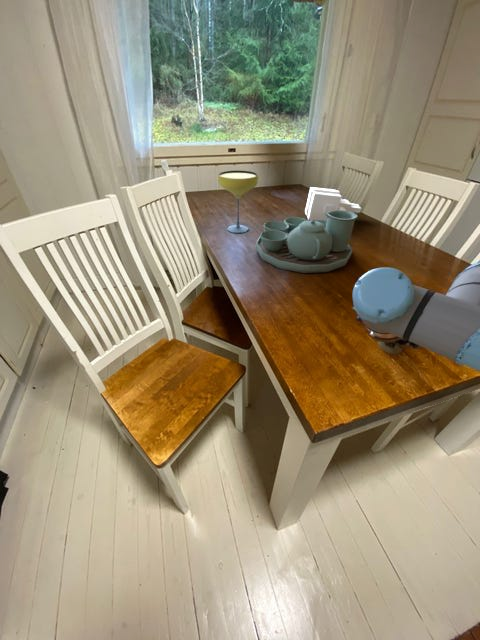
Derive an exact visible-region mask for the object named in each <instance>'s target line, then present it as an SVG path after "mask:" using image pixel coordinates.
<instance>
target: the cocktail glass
mask: <svg viewBox="0 0 480 640" xmlns="http://www.w3.org/2000/svg"><path fill="white" fill-rule="evenodd" d="M217 179H218V184H219V186H220V187H221V188H223V189H224V190H226V191H227V192H230V193H231V194H233V196H234V197H235V198H236V199H237V207H236V208H237V209H236V211H237V212H236V213H237V216H236V224H234V225H229V226H228V227H227V231H228V232H230V233H233V234H244V233H247V232H248V231H249V229H250V228H249V227H248V226H246V225H242V224H240V198H242V196H243V195H244V194H245V193H247V192H249V191H251V190H253V189H254V188H256V186H258V183H259V175H258V173H257V172H254V171H251V170H250V171H249V170H248V171H247V170H226V171H222V172H219V174H218V177H217Z"/></svg>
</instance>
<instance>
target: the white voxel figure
mask: <svg viewBox="0 0 480 640" xmlns="http://www.w3.org/2000/svg"><path fill="white" fill-rule="evenodd" d="M340 192H341V191H340V190H336V189H335V188H334V189H333V188H324V187H315V186H310V187H309V191H308V196H307V201H306V205H305V208H304V214H305V216H306V219H307V220H308V221H311V220H325V221H327V216H326V215H325V213H326V212H329V211H332V210H345V211H350V212H353V213H356V214H357V213H359V214H360V213H361V211H362V207H361V206H360V205H359V204H358V203H351V202H350V201H349V200H348V199H346V198H345V199H344V198H342V194H340Z"/></svg>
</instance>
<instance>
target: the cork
mask: <svg viewBox="0 0 480 640" xmlns="http://www.w3.org/2000/svg"><path fill="white" fill-rule="evenodd" d="M377 345H378V347H379V348H380V349H381V350H383V352H385V353H388V354H390V355H398V354H401V353H402V352H403V349H402V348H399V346H398V345H399V344H398V345H397V346H396V345H395V346H394V348H392V347H391V348H390V347H388V346H386V345H385V343H384V342H380V341H378V340H377Z"/></svg>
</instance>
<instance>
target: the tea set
mask: <svg viewBox="0 0 480 640" xmlns="http://www.w3.org/2000/svg"><path fill="white" fill-rule="evenodd" d="M325 215H326V216H327V221H325V220H308V218H304V217H299V216H298V217H297V216H292V217H286V218H284V219H283V221H281V220H279V221H278V220H272V221H266V222H264V224H263V225H262V226H263V228H264V229H263V230H264V231H262V232H260V234H259V237H258V238H257V240H256V242H255V249H256V251H257V253H258V255H259V256H260V258H261V260H263V261H265V262H266V263H269V264H270V265H272V266H273V267H276V268H278V269H282V270H287V271H292V272H297V273H301V274H309V273H329V272H331V271H334V270H337V269H339V268H343V267H345V266H346V265H347V263H348V261H349V260H350V258H351V256H352V254H353V249H352V247H351V246H350V239H351V236H352V234H353V233H352V232H353V229H354V226H355V221H356V219H357V218H358V214H357V213H356V212H350V211H345V210H332V211H329V212H326V213H325Z"/></svg>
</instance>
